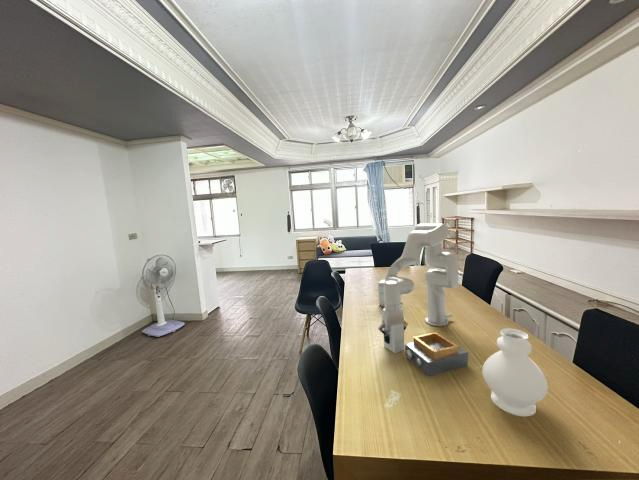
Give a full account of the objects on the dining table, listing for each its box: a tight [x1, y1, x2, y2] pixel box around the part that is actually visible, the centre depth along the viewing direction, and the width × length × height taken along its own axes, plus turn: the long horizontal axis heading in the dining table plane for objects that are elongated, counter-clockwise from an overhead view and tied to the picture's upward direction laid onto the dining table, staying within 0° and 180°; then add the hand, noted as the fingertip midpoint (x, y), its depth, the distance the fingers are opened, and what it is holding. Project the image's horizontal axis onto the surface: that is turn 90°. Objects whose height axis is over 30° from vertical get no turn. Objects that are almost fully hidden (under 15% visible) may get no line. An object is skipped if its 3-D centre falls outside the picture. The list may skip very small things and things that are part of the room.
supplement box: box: [377, 279, 385, 307], centre depth 187 cm, size 10×9×17 cm
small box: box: [382, 324, 405, 354], centre depth 130 cm, size 8×6×13 cm
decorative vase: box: [481, 328, 548, 417], centre depth 90 cm, size 18×18×25 cm
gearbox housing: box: [404, 331, 469, 377], centre depth 117 cm, size 21×16×9 cm
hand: (393, 340), depth 130 cm, fingers closed on small box, 7 cm apart
